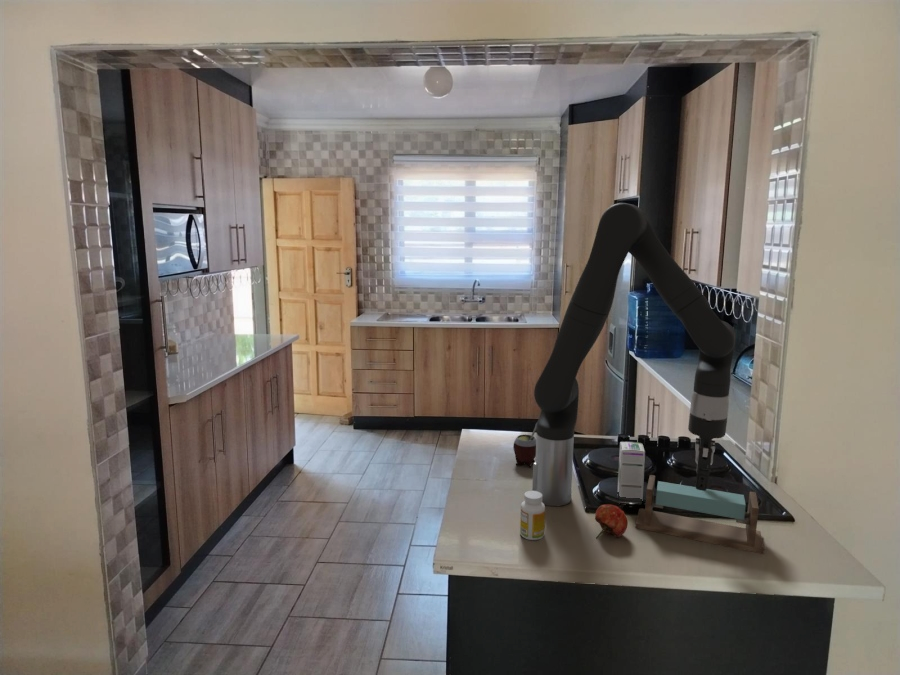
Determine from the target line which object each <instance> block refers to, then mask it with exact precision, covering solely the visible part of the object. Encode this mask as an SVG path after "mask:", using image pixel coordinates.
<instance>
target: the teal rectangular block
mask: <svg viewBox="0 0 900 675" xmlns="http://www.w3.org/2000/svg"><path fill="white" fill-rule="evenodd" d="M655 496H656V501H655V502H656V504H657V505H662V506H663V507H668V508H669V507H670V508H674V509H679V510H680V509H681V510H684V511H691V512H696V513H697V512H698V513H703V514H708V515H713V516H720V517H724V518H725V517H726V518H731V519H735V520H736V519H741V520H744V516H745V512H746V506H747V505H746V500H745V494H739V493H733V492H728V491H722V490H715V489H709V488H707V490H706V491H702V490H697V489H696V486H691V485H686V484H685V485H683V484H677V483H671V482H666V481H659V480H657V486H656V494H655Z"/></svg>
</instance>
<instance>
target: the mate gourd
mask: <svg viewBox="0 0 900 675" xmlns="http://www.w3.org/2000/svg"><path fill="white" fill-rule="evenodd" d="M536 432H537V422H536V423H535V426H534V428H533V431H532V434H519V435H517V436H516V437H515V439H514V442H513V445H512V446H513V452H514V455H515V460H516V461H515V462H516V463H515V465H516V466H523V465H525V466H526V467H528V468H531V469H533V465H532V464H534V462H535V461H536V437H535V436H534V435H535V433H536Z"/></svg>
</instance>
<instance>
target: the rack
mask: <svg viewBox="0 0 900 675" xmlns="http://www.w3.org/2000/svg"><path fill="white" fill-rule="evenodd" d="M647 482H648V483H647V485H646V492H645V493H646V496H645V505H644V506H645V508H639V509H638V512H637V517H636V521H635V528H636V529H640V530H645V531H650V532H654V533H655V532H656V533H661V534H665V535H670V536H676V537H679V538H680V537H681V538H685V539H689V540H694V541H699V542H704V543H708V544H714V545H718V546H719V545H721V546H723V547H729V548H733V549H737V550H738V549H739V550H743V551H748V552H754V553H758V554H764V553H765V552H764V550H765V548H764V543H763V538H762V532H761V530H757V525H758V518H759V511H760V510H759V509H760V508H759V503H758V496H757V493H756V491H755V492H754V491H749V493H748V494H749V495H748V504H747V512H746V511H745V516H744V520H741V519H736V518H735V523H737V524H741V525H742V524H743V525H745V527H742V526H741V527H739V526H736V525H732V524H731V525H729V524H726V523H725V524H724V523H719V522H716V521H715V522H714V521H708V520H705V519H704V520H703V519H699V518H692V517H688V516H683V515H678V514H672V513H667V512H662V511H657V510H653V508H656V509H664V506H662V505H657V504H656V495H655V483H656V475H654V474H649V478H648V481H647Z"/></svg>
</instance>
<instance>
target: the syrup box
mask: <svg viewBox="0 0 900 675" xmlns="http://www.w3.org/2000/svg"><path fill="white" fill-rule="evenodd" d="M618 456H619V457H618V472H617V473H618V475H617V492H619V496H620V497H626V498H640V499H642V500H643V498H644V497H643V496H644V481H645V480H644V479H645V459H646V458H645V457H646V450H645V448H644V445H643V443H642V442H636V441H620V442H619V454H618Z"/></svg>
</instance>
